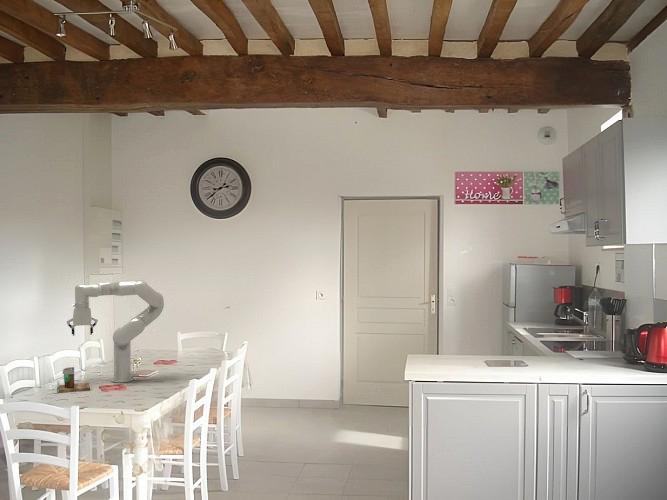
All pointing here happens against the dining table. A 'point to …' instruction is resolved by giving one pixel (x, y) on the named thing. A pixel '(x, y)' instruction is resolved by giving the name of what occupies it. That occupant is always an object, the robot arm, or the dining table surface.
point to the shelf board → (76, 388)
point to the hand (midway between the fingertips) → (82, 334)
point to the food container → (69, 377)
